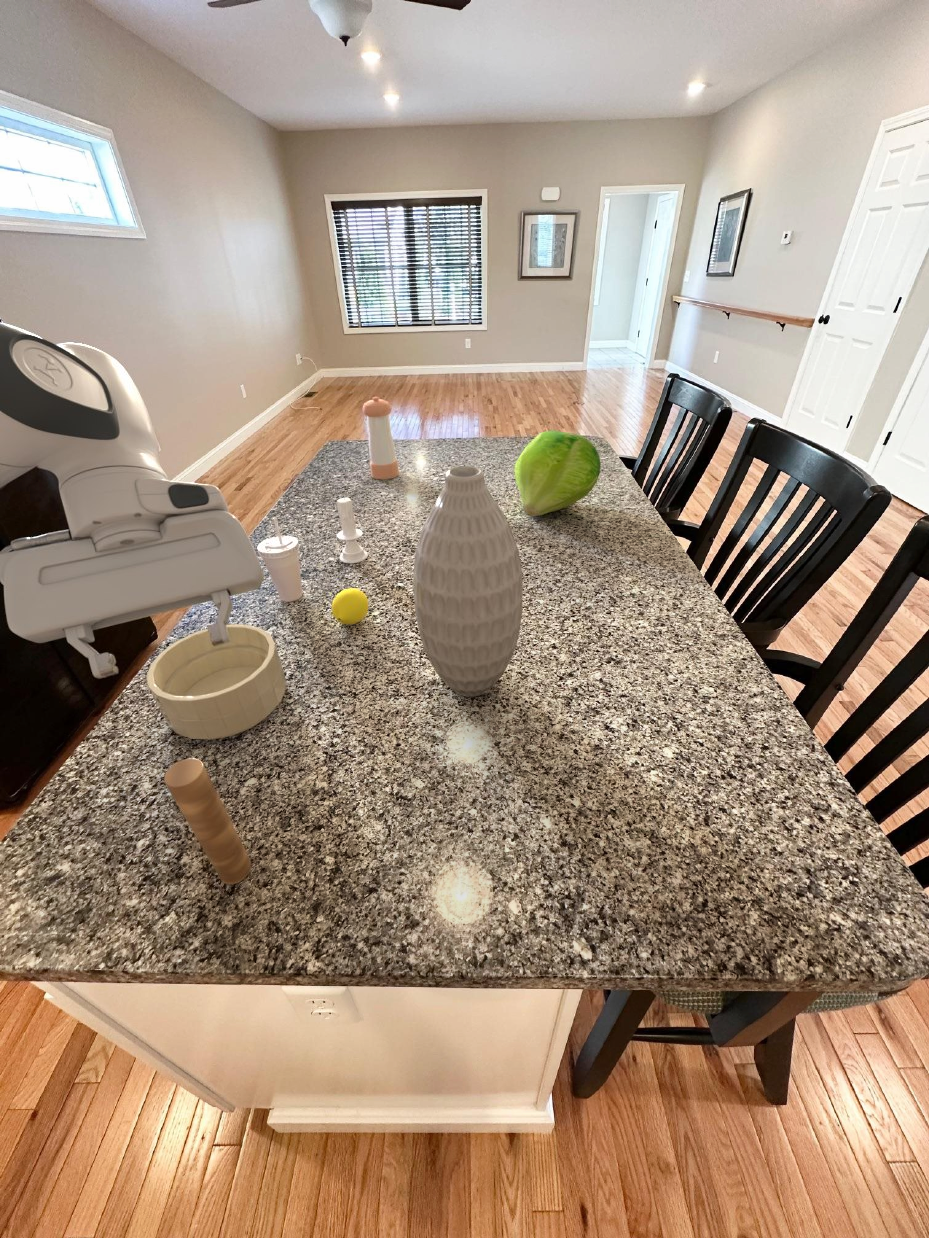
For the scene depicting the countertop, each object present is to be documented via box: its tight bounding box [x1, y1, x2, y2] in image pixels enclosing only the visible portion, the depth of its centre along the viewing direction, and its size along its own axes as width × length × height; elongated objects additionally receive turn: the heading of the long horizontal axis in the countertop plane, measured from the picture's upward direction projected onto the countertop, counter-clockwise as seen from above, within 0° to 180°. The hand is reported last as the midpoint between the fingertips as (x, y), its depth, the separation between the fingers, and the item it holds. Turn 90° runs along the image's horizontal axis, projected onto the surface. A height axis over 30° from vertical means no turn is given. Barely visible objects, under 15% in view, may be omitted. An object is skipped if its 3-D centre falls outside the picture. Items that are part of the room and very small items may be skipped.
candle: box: [336, 497, 369, 564], centre depth 94 cm, size 5×5×12 cm
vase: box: [412, 465, 524, 697], centre depth 60 cm, size 13×13×28 cm
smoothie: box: [256, 517, 303, 603], centre depth 83 cm, size 6×6×14 cm
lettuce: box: [514, 429, 602, 517], centre depth 110 cm, size 17×20×17 cm
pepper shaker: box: [362, 396, 400, 480], centre depth 130 cm, size 7×7×19 cm
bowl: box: [146, 623, 287, 740], centre depth 64 cm, size 14×14×7 cm
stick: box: [163, 757, 252, 885], centre depth 43 cm, size 3×3×14 cm
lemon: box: [331, 587, 370, 626], centre depth 79 cm, size 7×5×5 cm
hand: (166, 658), depth 46 cm, fingers open, 8 cm apart
